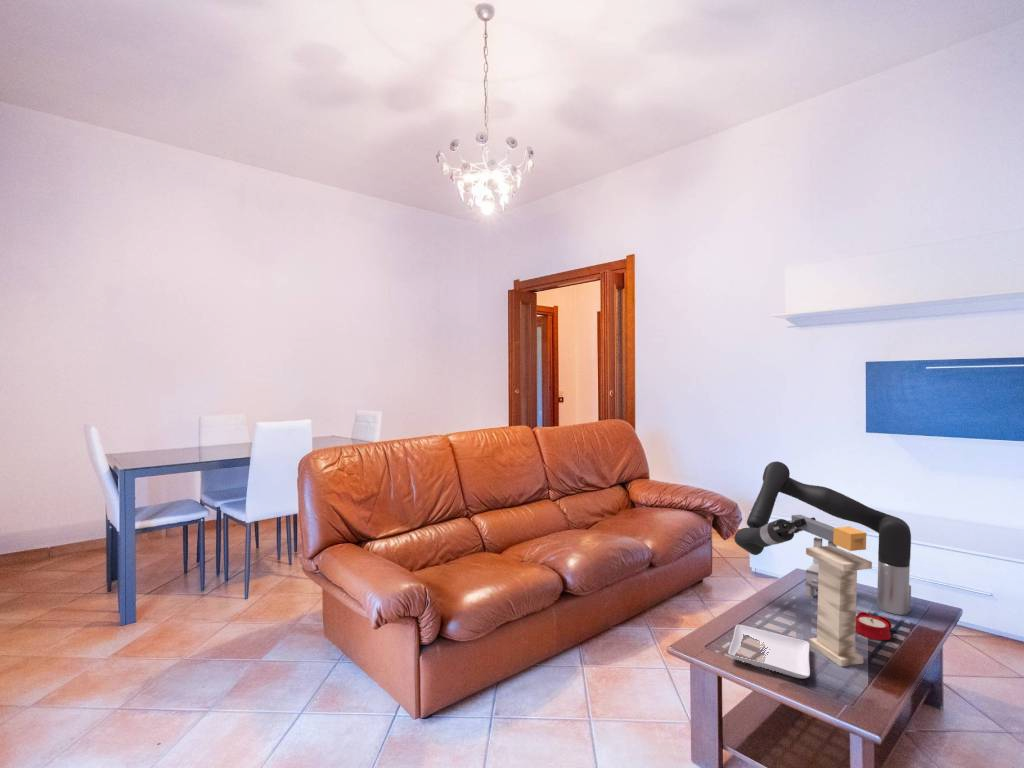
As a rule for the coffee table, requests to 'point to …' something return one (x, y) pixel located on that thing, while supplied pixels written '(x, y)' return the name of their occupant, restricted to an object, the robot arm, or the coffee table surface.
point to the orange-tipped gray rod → (835, 534)
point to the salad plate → (775, 651)
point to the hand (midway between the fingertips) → (809, 521)
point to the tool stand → (837, 603)
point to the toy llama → (814, 571)
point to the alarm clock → (873, 626)
